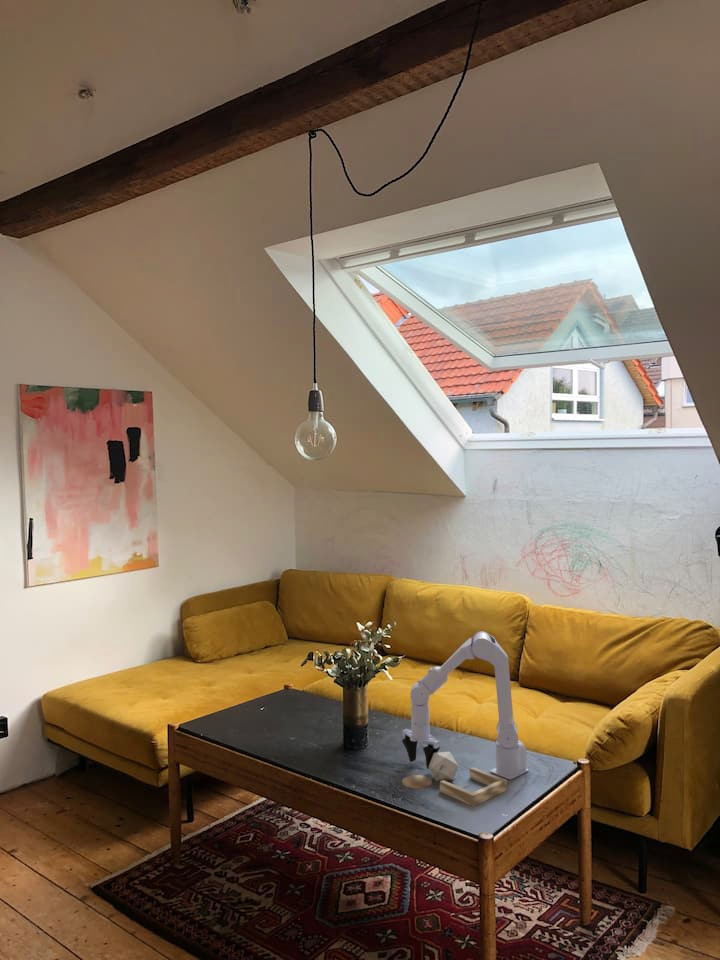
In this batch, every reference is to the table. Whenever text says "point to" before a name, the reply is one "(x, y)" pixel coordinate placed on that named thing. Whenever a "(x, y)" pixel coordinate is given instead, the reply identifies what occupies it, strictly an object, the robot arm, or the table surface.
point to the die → (443, 766)
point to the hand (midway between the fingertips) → (421, 764)
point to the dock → (477, 797)
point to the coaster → (417, 781)
